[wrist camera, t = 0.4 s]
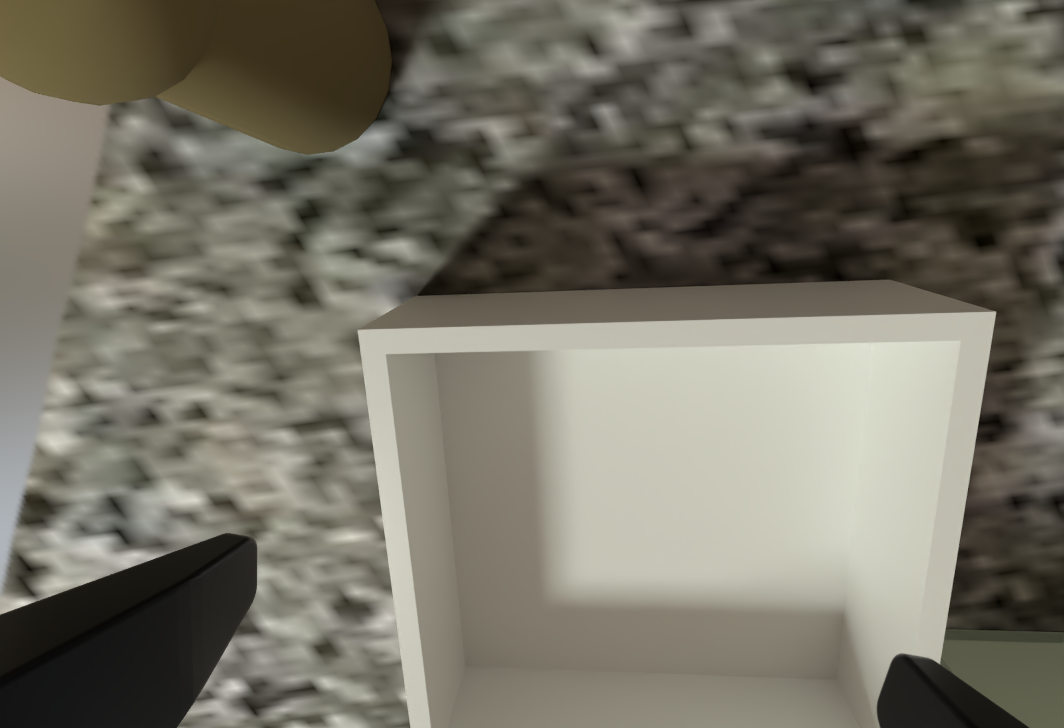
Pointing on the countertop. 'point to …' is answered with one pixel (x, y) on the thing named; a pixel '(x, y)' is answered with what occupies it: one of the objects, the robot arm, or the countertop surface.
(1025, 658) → the sage crate
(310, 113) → the olive pepper shaker
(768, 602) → the white open box
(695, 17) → the countertop surface
